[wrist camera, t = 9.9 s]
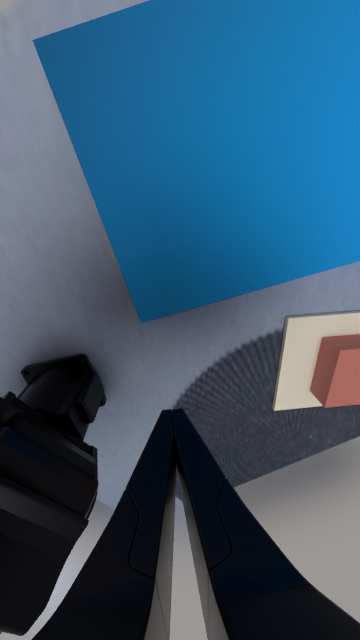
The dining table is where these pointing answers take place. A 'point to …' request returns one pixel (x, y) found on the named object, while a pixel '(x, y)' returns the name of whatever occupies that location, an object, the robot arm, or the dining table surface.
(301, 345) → the mat
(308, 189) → the book
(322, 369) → the card box
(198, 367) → the dining table surface
